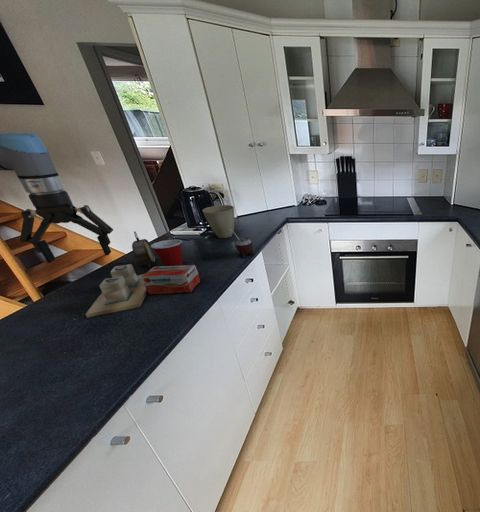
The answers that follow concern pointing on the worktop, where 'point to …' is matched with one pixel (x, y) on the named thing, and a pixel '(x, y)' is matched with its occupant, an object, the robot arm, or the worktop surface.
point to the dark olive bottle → (143, 251)
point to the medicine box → (171, 279)
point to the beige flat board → (131, 302)
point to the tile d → (115, 289)
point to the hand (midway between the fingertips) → (81, 257)
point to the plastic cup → (169, 252)
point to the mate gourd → (243, 246)
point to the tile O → (125, 274)
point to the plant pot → (220, 219)
